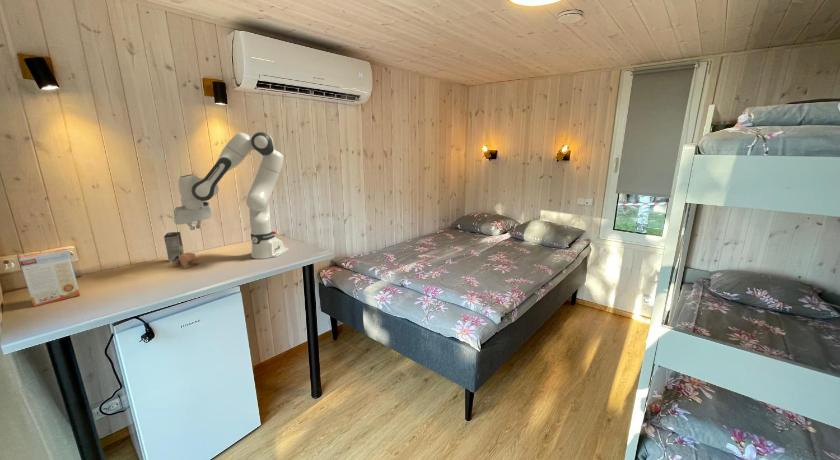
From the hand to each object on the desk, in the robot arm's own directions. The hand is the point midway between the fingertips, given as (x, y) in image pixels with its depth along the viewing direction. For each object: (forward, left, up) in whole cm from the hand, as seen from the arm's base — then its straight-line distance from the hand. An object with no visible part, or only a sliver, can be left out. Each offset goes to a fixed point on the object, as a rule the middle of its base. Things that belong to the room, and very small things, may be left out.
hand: (195, 229), depth 190 cm
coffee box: (+3, -15, -19) cm, 25 cm away
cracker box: (+57, -15, -19) cm, 62 cm away
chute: (+12, 0, -19) cm, 22 cm away
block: (+8, 0, -18) cm, 20 cm away
